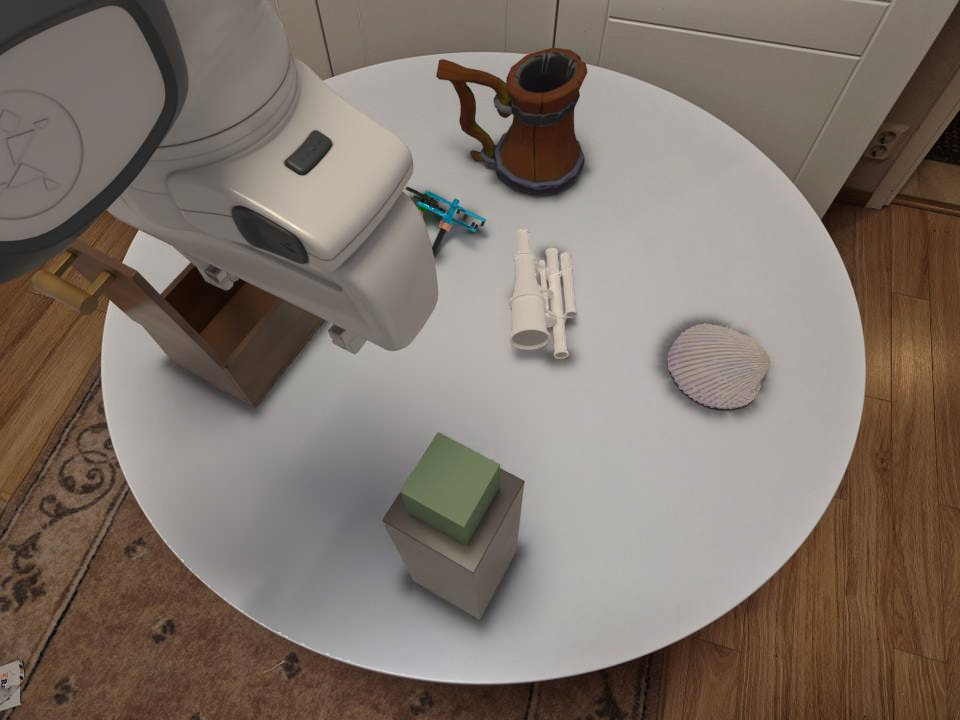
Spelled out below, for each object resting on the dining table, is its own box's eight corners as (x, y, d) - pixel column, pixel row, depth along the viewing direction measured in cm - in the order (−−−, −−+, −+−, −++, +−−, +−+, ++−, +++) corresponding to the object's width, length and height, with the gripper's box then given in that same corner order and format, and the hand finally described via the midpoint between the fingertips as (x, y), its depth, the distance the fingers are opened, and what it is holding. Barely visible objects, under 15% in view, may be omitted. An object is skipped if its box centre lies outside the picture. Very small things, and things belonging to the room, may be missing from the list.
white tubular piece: (538, 264, 82) (573, 244, 78) (546, 367, 75) (584, 350, 72) (491, 236, 77) (527, 212, 73) (496, 343, 70) (535, 323, 67)
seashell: (789, 399, 67) (695, 388, 65) (759, 420, 72) (670, 409, 70) (772, 311, 72) (684, 298, 70) (745, 336, 76) (661, 324, 75)
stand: (479, 620, 60) (473, 573, 43) (413, 581, 62) (381, 520, 45) (516, 551, 63) (525, 480, 46) (451, 515, 65) (436, 434, 48)
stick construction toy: (500, 220, 80) (460, 198, 74) (475, 274, 81) (433, 257, 75) (434, 191, 87) (392, 168, 80) (411, 241, 88) (368, 223, 82)
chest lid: (25, 212, 51) (-17, 254, 50) (137, 270, 49) (96, 317, 47) (136, 314, 66) (106, 349, 65) (227, 363, 63) (198, 401, 62)
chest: (261, 262, 80) (236, 212, 73) (340, 300, 77) (323, 253, 70) (172, 362, 74) (136, 319, 66) (255, 408, 71) (226, 368, 63)
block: (466, 546, 44) (464, 527, 40) (407, 513, 45) (399, 491, 41) (499, 487, 46) (500, 464, 42) (442, 457, 47) (437, 431, 43)
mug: (437, 190, 85) (426, 91, 72) (450, 126, 91) (443, 23, 78) (580, 202, 84) (596, 103, 71) (585, 136, 89) (601, 33, 76)
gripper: (-26, 93, 30) (121, 280, 42) (360, 269, 25) (401, 423, 37) (78, 15, 33) (188, 211, 45) (445, 159, 28) (458, 336, 40)
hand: (287, 308), depth 41 cm, fingers open, 8 cm apart
